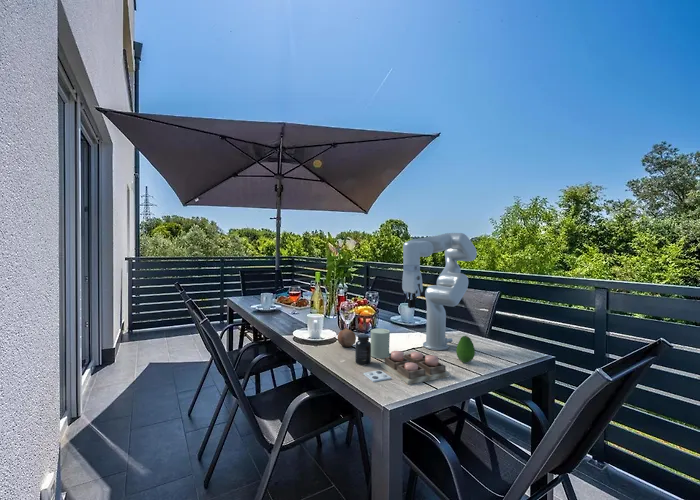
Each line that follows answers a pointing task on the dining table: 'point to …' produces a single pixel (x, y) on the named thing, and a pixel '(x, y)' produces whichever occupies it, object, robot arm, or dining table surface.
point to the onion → (346, 338)
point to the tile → (377, 375)
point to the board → (415, 376)
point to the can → (380, 343)
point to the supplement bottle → (363, 350)
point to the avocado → (465, 349)
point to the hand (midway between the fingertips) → (411, 307)
